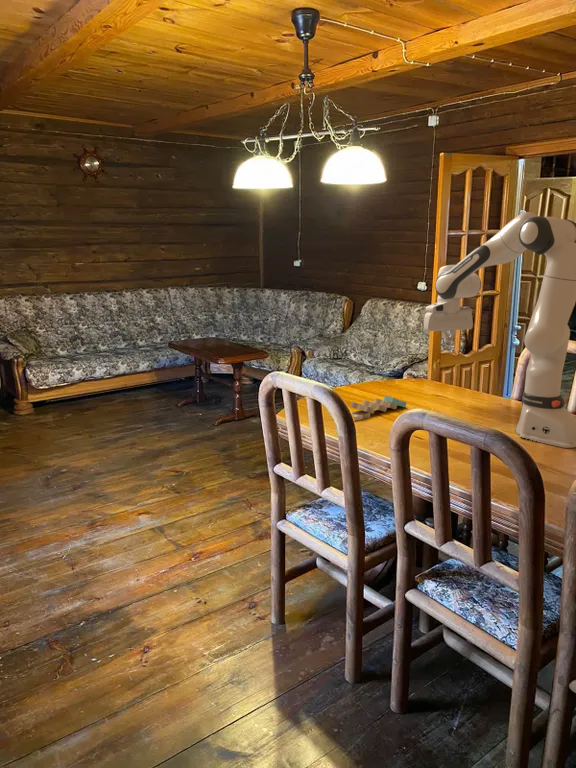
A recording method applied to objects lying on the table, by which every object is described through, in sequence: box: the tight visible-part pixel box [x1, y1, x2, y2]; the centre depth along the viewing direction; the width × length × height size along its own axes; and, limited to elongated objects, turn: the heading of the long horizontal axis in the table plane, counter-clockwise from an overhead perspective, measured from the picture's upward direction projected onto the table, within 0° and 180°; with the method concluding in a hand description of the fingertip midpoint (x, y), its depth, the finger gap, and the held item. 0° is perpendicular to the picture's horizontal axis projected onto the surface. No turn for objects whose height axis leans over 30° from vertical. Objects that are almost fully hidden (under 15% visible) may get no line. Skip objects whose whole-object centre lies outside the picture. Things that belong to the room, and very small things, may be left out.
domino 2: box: [350, 410, 371, 422], centre depth 220 cm, size 5×2×8 cm
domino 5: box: [383, 395, 408, 408], centre depth 232 cm, size 5×2×8 cm
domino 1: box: [350, 401, 376, 415], centre depth 222 cm, size 5×2×8 cm
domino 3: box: [362, 399, 388, 413], centre depth 226 cm, size 5×2×8 cm
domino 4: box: [373, 397, 398, 410], centre depth 229 cm, size 5×2×8 cm
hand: (448, 341), depth 235 cm, fingers closed
